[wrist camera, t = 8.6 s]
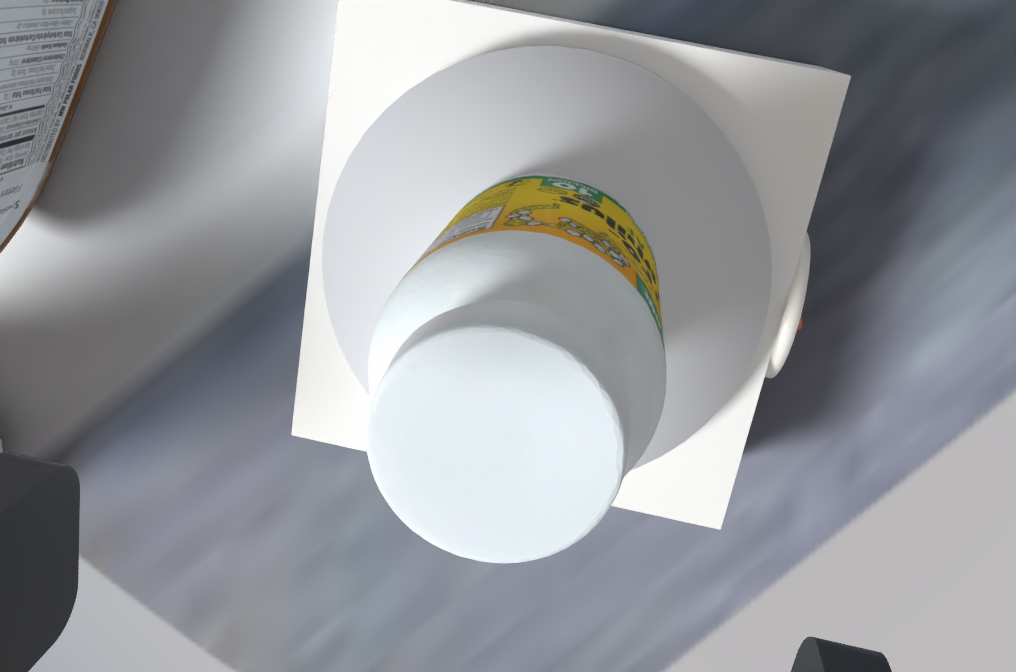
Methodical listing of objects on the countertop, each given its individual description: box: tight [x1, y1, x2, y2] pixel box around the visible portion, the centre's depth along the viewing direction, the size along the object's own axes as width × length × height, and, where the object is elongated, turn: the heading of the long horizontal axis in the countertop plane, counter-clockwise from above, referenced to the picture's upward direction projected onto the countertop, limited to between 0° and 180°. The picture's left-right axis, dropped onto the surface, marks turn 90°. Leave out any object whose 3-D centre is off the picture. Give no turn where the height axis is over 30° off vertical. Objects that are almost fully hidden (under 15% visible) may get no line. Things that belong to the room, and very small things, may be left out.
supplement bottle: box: [366, 173, 667, 563], centre depth 19 cm, size 5×5×10 cm
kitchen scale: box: [291, 0, 851, 530], centre depth 26 cm, size 12×12×5 cm
